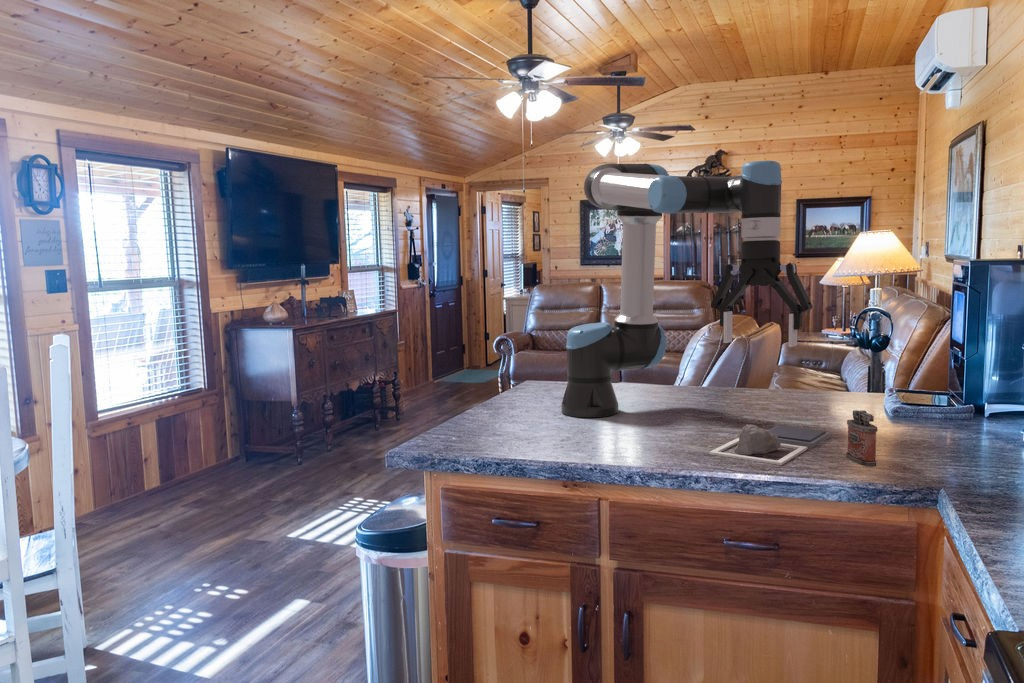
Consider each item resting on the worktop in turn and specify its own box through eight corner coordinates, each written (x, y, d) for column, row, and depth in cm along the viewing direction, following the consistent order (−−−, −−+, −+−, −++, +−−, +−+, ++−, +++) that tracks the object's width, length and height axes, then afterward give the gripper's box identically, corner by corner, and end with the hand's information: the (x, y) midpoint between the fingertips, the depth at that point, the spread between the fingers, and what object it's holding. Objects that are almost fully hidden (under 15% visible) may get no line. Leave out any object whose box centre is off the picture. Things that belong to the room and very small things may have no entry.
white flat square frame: (709, 454, 158) (708, 451, 158) (738, 439, 169) (738, 437, 169) (781, 465, 148) (781, 462, 148) (807, 449, 160) (807, 446, 160)
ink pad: (756, 440, 168) (756, 434, 168) (776, 430, 177) (777, 424, 177) (812, 448, 161) (812, 441, 160) (830, 436, 170) (830, 430, 170)
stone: (764, 460, 152) (764, 432, 152) (726, 454, 158) (726, 426, 157) (784, 450, 160) (784, 423, 159) (748, 445, 165) (748, 418, 164)
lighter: (842, 456, 154) (843, 407, 153) (858, 455, 154) (859, 406, 153) (863, 467, 146) (865, 415, 145) (880, 466, 146) (882, 414, 145)
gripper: (695, 241, 159) (694, 342, 161) (817, 237, 143) (815, 349, 146) (710, 241, 165) (710, 339, 167) (830, 237, 149) (828, 345, 151)
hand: (759, 344), depth 156 cm, fingers open, 13 cm apart
